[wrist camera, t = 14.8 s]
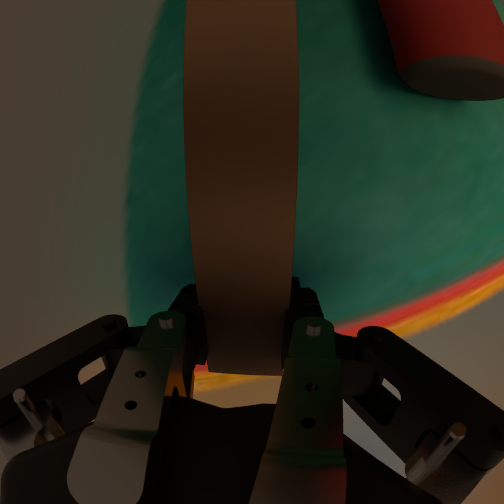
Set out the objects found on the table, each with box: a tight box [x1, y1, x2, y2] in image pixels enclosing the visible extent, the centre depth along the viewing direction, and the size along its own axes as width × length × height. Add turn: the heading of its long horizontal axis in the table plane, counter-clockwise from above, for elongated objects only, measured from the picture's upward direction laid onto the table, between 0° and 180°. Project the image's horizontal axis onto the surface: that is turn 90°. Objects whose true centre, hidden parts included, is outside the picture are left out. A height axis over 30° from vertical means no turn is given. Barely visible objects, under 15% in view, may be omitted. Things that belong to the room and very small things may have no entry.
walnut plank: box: [183, 0, 299, 376], centre depth 8 cm, size 18×3×4 cm, turn 0°
